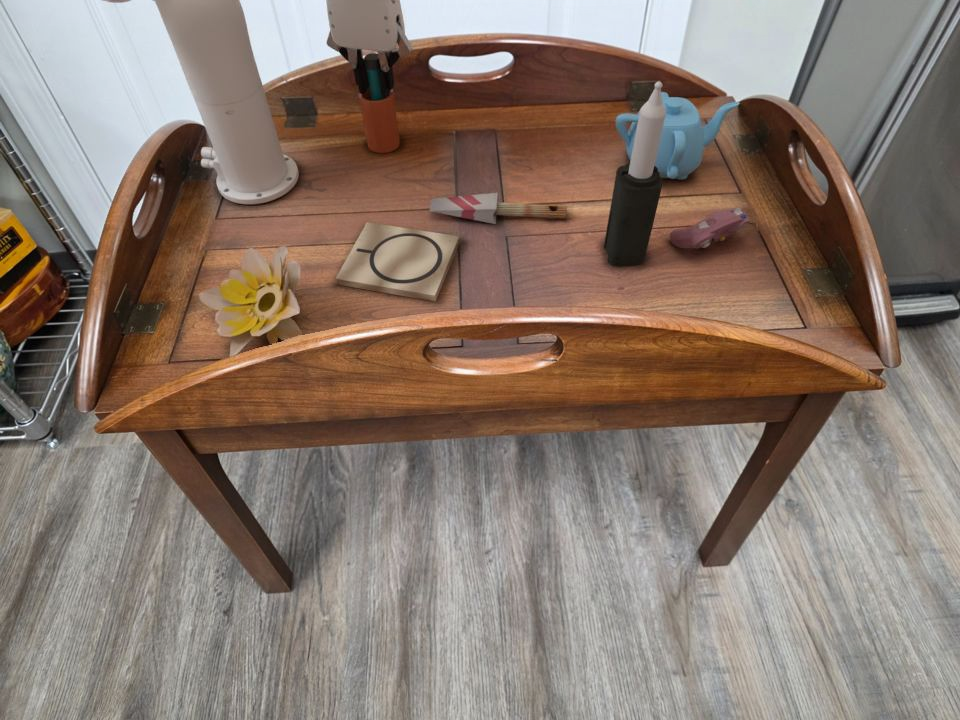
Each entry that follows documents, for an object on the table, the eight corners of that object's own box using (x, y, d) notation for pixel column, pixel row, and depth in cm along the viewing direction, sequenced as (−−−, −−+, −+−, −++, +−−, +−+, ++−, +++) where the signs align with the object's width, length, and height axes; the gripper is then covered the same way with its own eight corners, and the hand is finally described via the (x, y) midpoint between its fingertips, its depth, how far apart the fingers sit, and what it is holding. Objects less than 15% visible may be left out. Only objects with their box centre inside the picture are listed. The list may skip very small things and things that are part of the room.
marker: (375, 142, 108) (361, 59, 97) (380, 134, 109) (367, 52, 98) (389, 144, 107) (377, 61, 96) (394, 136, 109) (382, 53, 98)
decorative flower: (195, 286, 86) (186, 226, 78) (281, 274, 90) (281, 218, 83) (217, 372, 78) (210, 316, 70) (311, 355, 83) (313, 300, 75)
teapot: (603, 166, 104) (611, 103, 95) (659, 128, 109) (672, 64, 100) (667, 203, 98) (682, 139, 89) (723, 160, 103) (742, 96, 94)
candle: (602, 242, 92) (630, 71, 72) (637, 239, 92) (675, 68, 73) (609, 267, 89) (641, 95, 69) (646, 264, 89) (688, 92, 69)
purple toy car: (678, 264, 91) (704, 243, 84) (664, 236, 92) (688, 213, 85) (733, 241, 94) (762, 220, 87) (718, 214, 94) (746, 191, 88)
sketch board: (337, 284, 88) (335, 277, 87) (368, 228, 95) (366, 221, 94) (435, 301, 85) (435, 294, 84) (459, 242, 93) (459, 235, 92)
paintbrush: (431, 188, 95) (567, 197, 95) (432, 203, 98) (564, 212, 97) (428, 204, 93) (567, 213, 93) (429, 219, 95) (565, 228, 95)
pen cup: (362, 151, 107) (353, 100, 100) (374, 132, 111) (366, 82, 103) (393, 155, 106) (386, 104, 99) (404, 136, 110) (398, 86, 103)
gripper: (422, -46, 88) (433, 84, 102) (310, -54, 90) (336, 73, 105) (404, -23, 83) (419, 109, 98) (288, -33, 86) (318, 97, 100)
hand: (376, 89), depth 101 cm, fingers open, 3 cm apart
